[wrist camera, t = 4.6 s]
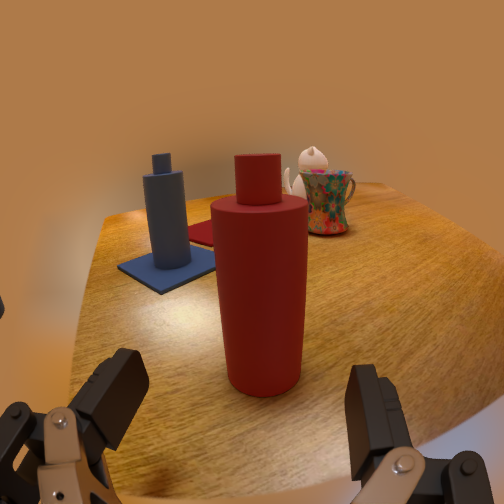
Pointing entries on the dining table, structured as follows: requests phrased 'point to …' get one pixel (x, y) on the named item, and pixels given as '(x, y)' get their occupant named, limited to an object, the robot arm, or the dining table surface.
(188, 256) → the blue bottle
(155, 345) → the dining table surface
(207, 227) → the red mat
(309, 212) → the mug
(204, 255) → the blue mat
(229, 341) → the red bottle
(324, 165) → the cat figurine
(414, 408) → the dining table surface
